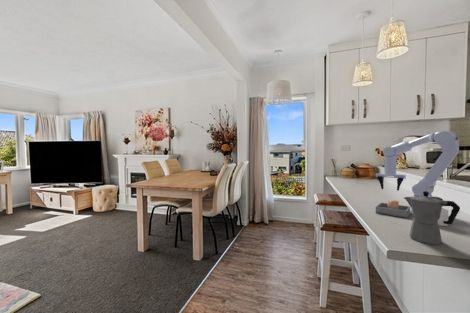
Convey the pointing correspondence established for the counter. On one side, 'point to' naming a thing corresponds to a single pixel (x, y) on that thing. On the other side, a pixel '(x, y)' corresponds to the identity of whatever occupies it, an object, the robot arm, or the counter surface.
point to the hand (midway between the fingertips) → (390, 189)
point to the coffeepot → (429, 217)
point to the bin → (393, 210)
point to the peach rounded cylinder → (393, 204)
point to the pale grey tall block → (442, 214)
